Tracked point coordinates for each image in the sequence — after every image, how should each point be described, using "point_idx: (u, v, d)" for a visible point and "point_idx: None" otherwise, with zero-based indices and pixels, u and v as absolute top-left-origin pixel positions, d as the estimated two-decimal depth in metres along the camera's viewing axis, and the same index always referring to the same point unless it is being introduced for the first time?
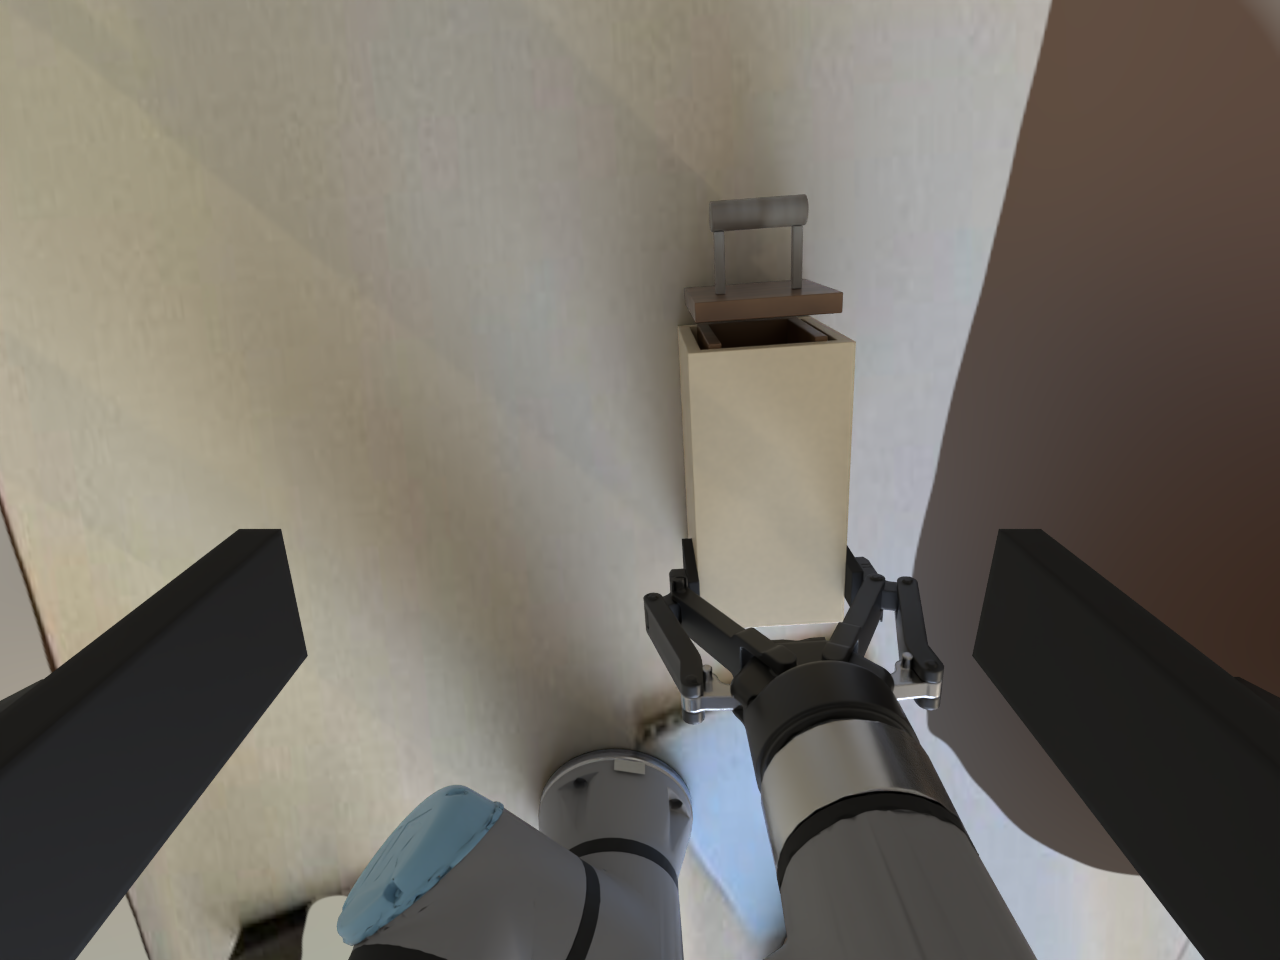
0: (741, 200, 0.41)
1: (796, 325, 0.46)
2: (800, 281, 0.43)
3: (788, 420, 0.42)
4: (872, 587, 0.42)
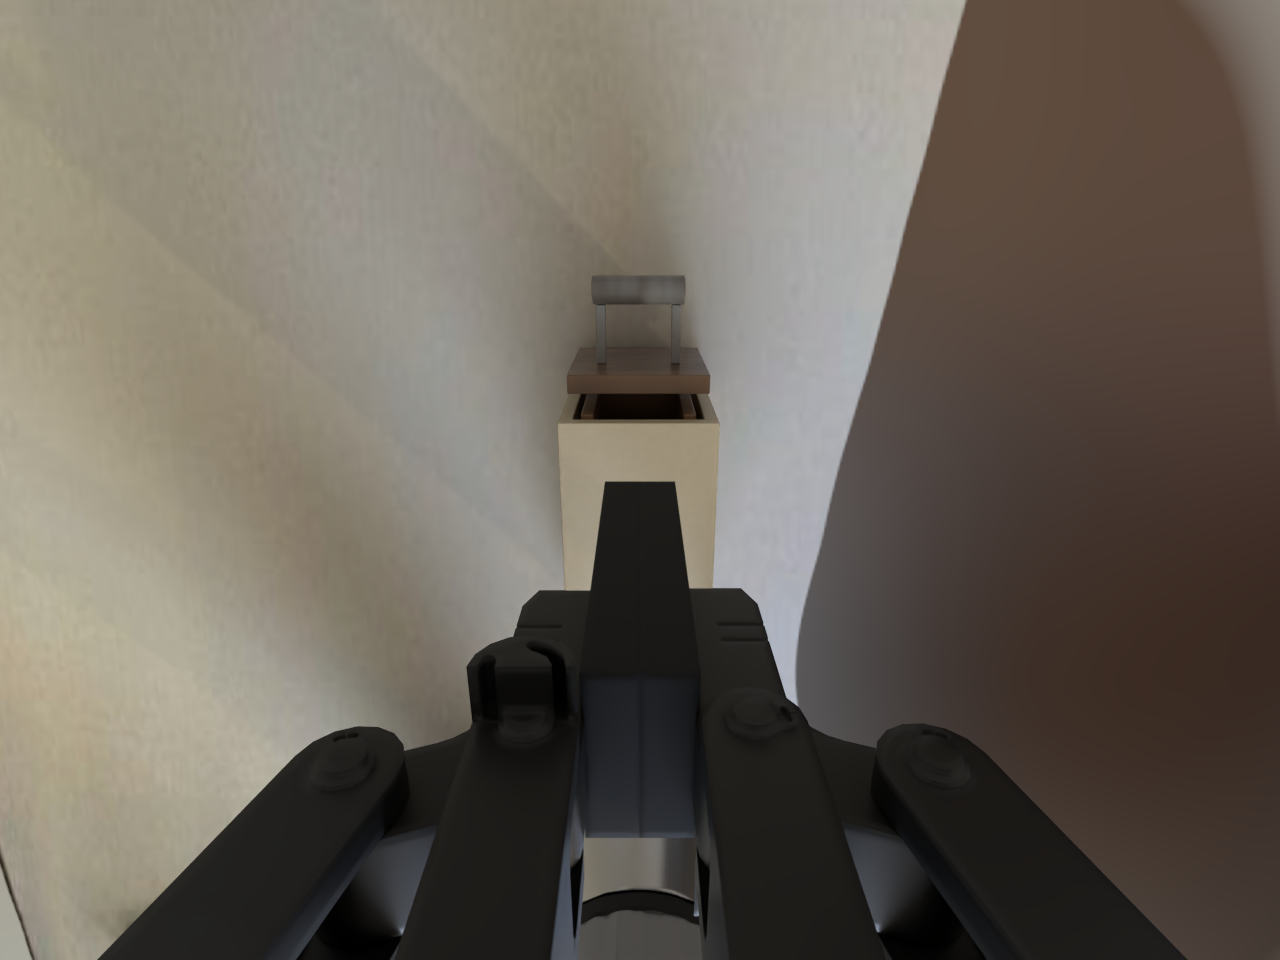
0: (621, 277, 0.43)
1: (679, 395, 0.48)
2: (678, 357, 0.45)
3: None
4: None
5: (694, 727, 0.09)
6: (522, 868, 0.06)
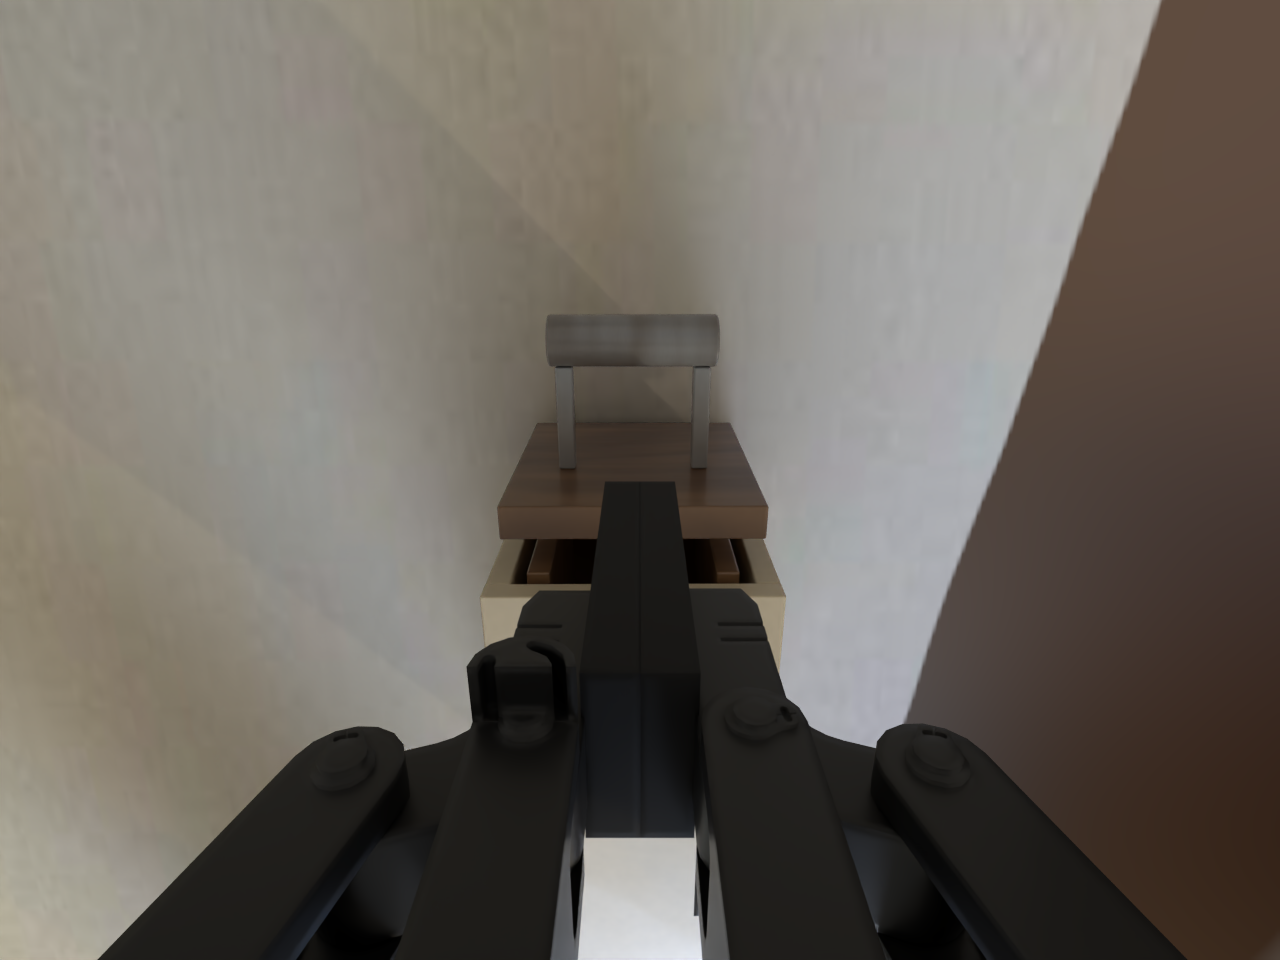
0: (601, 318, 0.23)
1: None
2: (704, 457, 0.25)
3: None
4: None
5: (694, 727, 0.09)
6: (523, 868, 0.06)
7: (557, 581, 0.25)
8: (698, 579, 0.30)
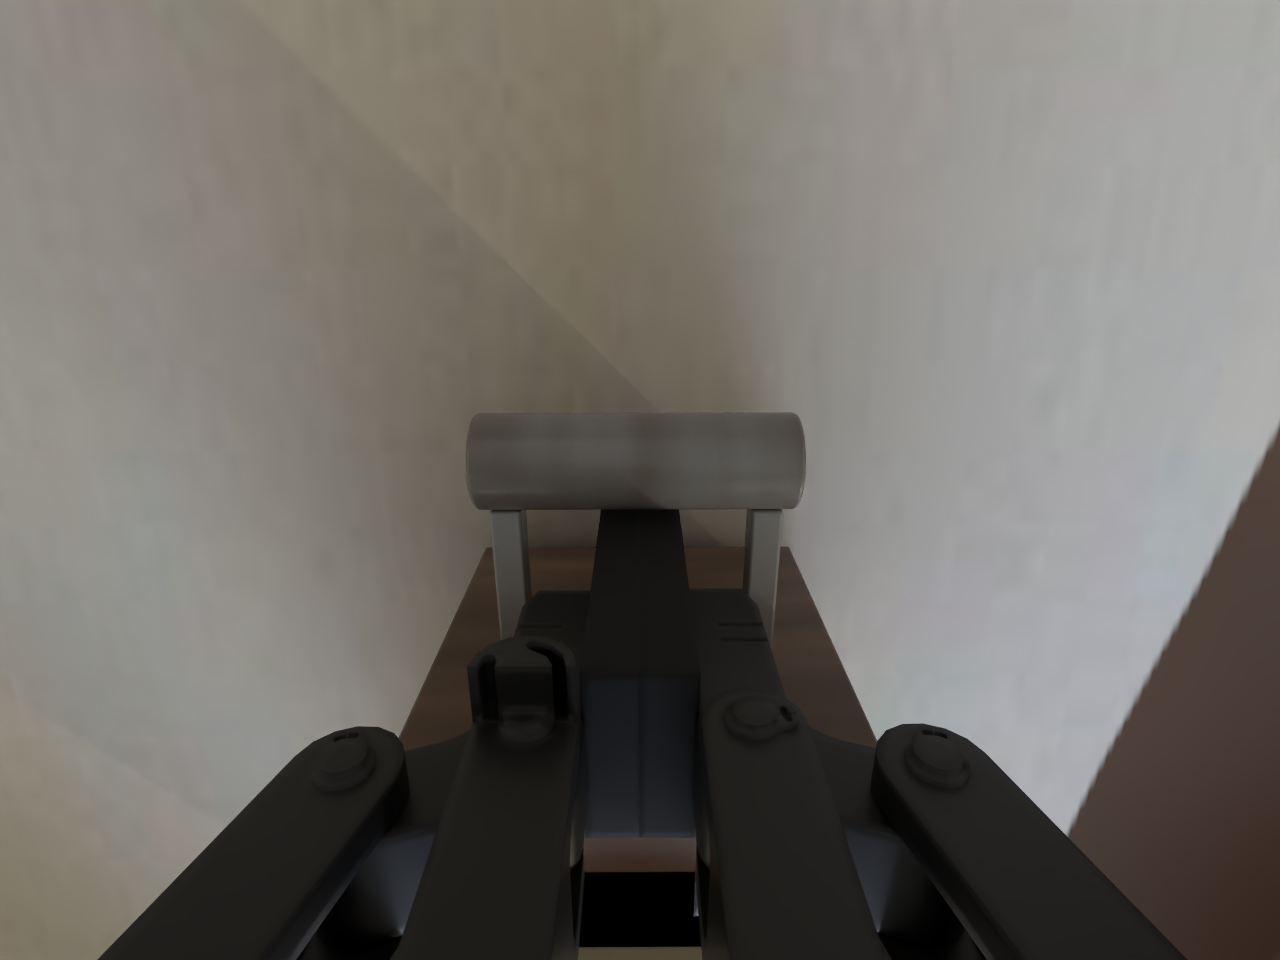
0: (576, 425, 0.12)
1: None
2: None
3: None
4: None
5: (694, 727, 0.09)
6: (522, 868, 0.06)
7: None
8: None
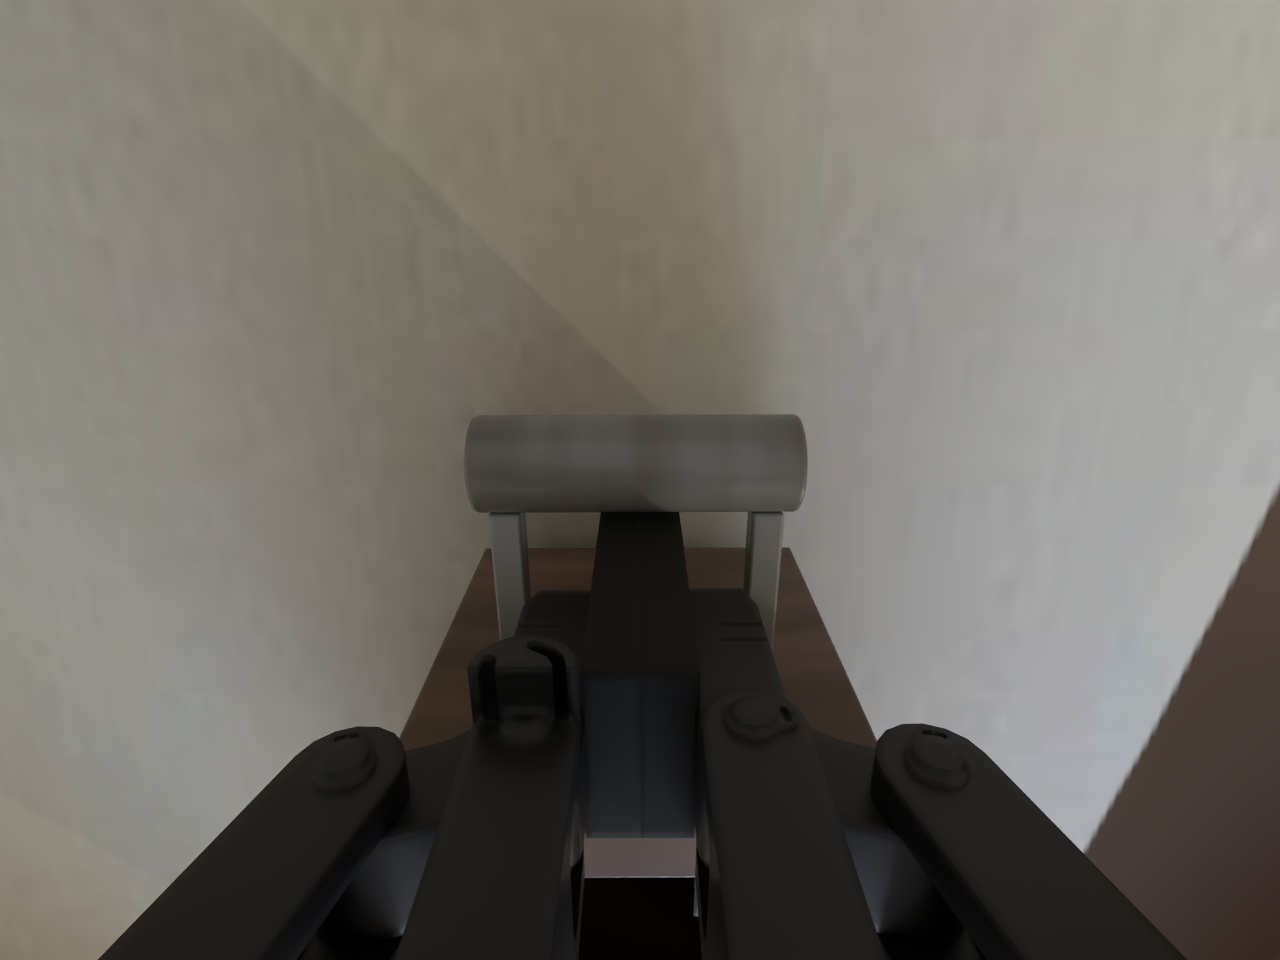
0: (575, 427, 0.12)
1: None
2: None
3: None
4: None
5: (694, 727, 0.09)
6: (522, 868, 0.06)
7: None
8: None
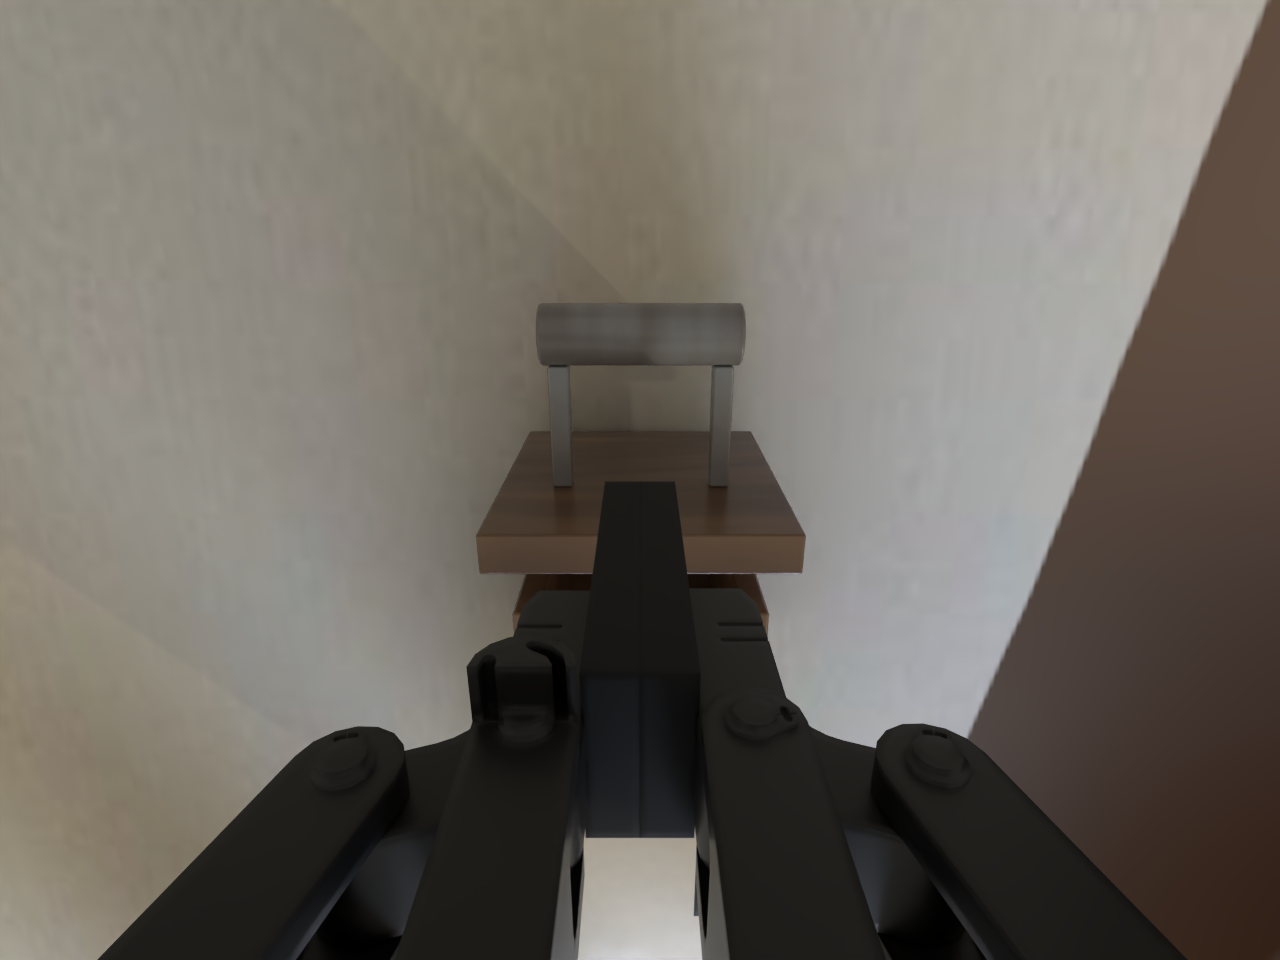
0: (603, 308, 0.19)
1: None
2: (725, 473, 0.21)
3: (672, 926, 0.22)
4: None
5: (694, 727, 0.09)
6: (522, 868, 0.06)
7: None
8: None
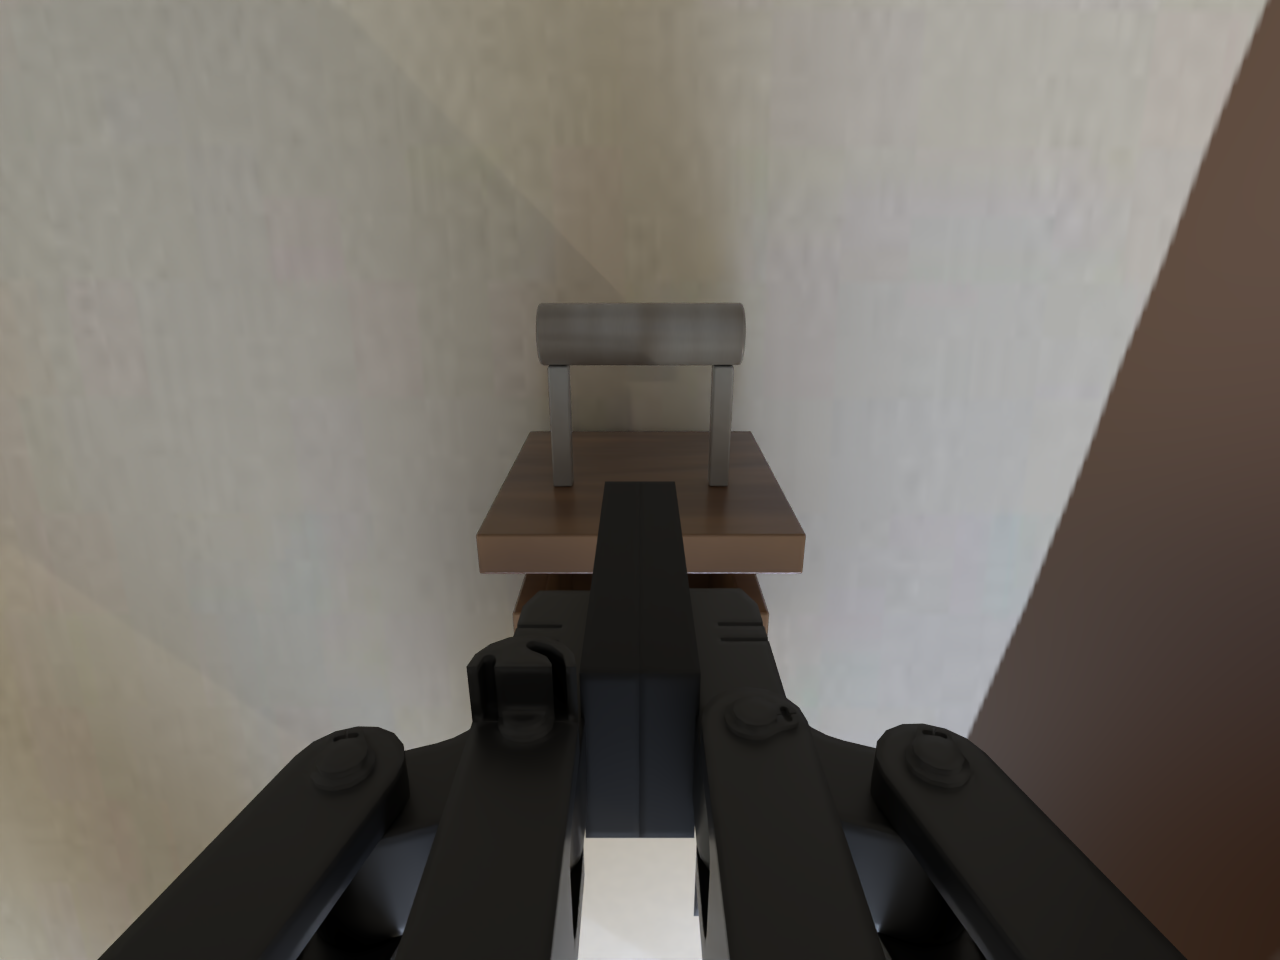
0: (603, 307, 0.19)
1: None
2: (725, 473, 0.21)
3: (672, 926, 0.22)
4: None
5: (694, 727, 0.09)
6: (522, 868, 0.06)
7: None
8: None
